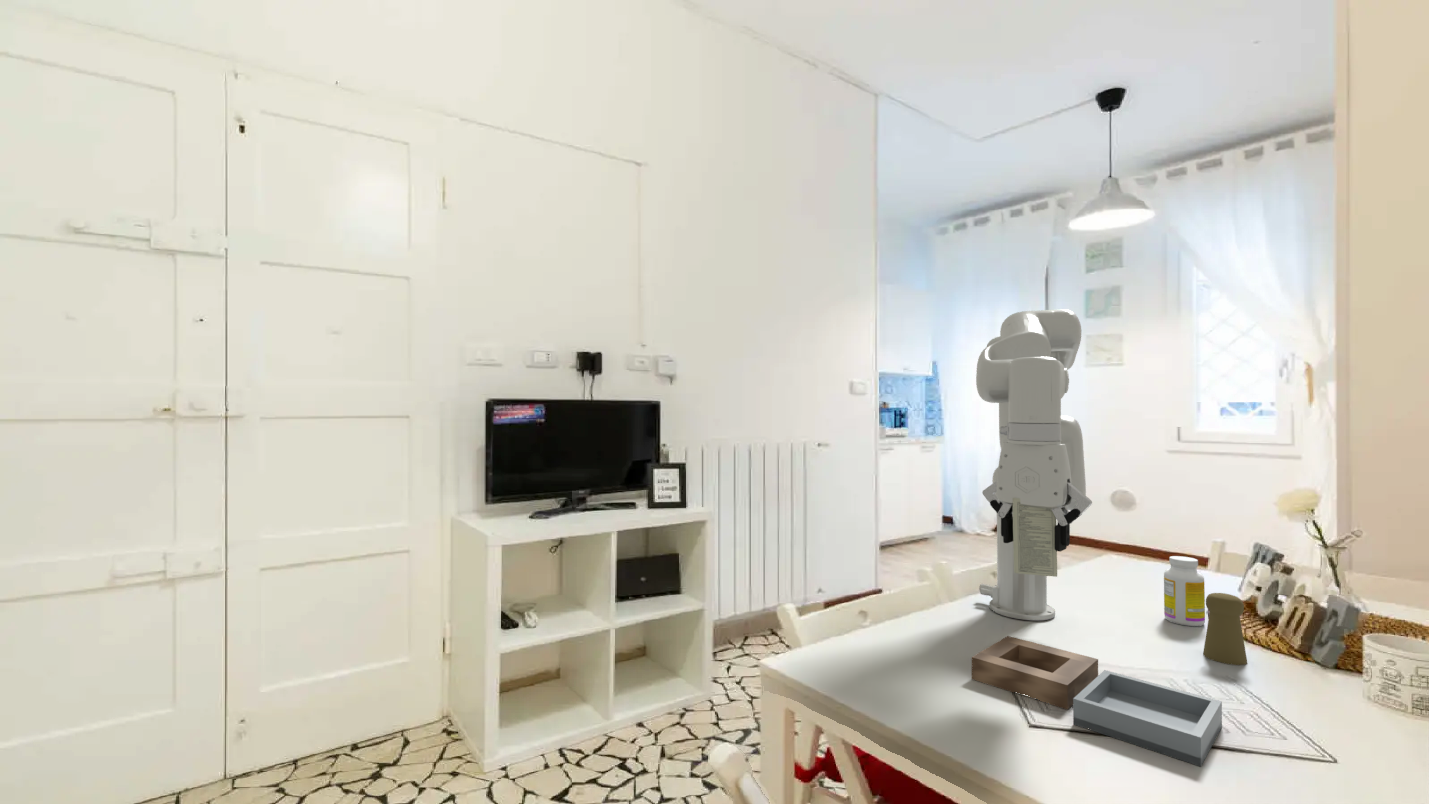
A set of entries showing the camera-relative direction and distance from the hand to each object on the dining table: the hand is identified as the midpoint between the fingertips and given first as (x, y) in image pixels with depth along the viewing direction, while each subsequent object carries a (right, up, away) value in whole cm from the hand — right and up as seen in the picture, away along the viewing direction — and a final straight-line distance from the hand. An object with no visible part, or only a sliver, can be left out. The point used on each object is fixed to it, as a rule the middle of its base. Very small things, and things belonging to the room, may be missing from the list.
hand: (1034, 545), depth 101 cm
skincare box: (0, -5, 0) cm, 5 cm away
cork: (+38, -22, +9) cm, 44 cm away
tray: (+8, -21, -15) cm, 27 cm away
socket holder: (0, -21, 0) cm, 21 cm away
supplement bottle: (+45, -22, +28) cm, 57 cm away
